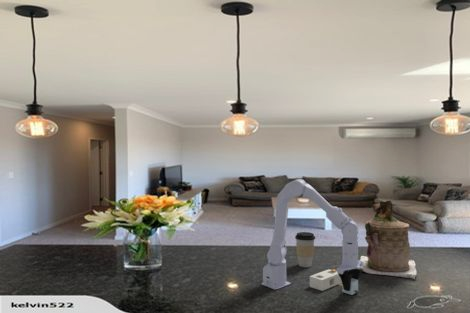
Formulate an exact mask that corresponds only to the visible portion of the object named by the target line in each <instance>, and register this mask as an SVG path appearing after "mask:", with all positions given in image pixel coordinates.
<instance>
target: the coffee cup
mask: <svg viewBox="0 0 470 313" xmlns="http://www.w3.org/2000/svg"><path fill="white" fill-rule="evenodd" d="M294 238H295V241H296V244H295V245H296V254H297V259H298V265H299V267H302V268H310V267H313V266H312V265H313V264H312V263H313V257H314V248H315V244H314V243H315V240H316V236H315V235H314V233H313V232H306V231H304V232H303V231H301V232H297V233H296V235H295V237H294Z"/></svg>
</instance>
